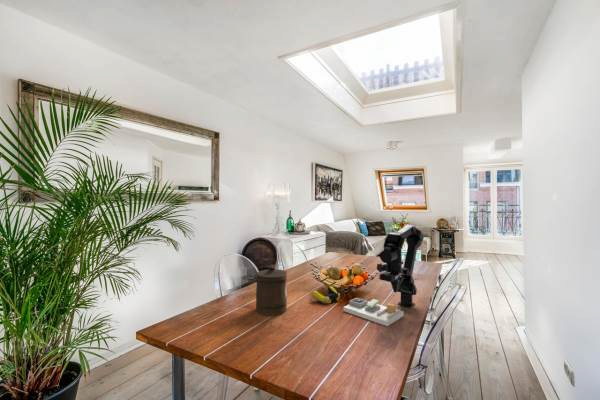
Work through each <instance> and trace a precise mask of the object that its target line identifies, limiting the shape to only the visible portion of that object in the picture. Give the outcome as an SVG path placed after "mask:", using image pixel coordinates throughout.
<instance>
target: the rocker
mask: <svg viewBox="0 0 600 400" xmlns="http://www.w3.org/2000/svg"><path fill="white" fill-rule="evenodd" d="M379 303H380V300H378V299H375V298H372V299H371V300H370V301H369V303H368V304H367V307H370V308H373V307H374V306H375V305H377V304H379Z"/></svg>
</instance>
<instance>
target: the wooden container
mask: <svg viewBox="0 0 600 400" xmlns="http://www.w3.org/2000/svg"><path fill="white" fill-rule="evenodd" d="M267 266H268V267H267V268H268V269H263V270H260V271H257V273H256V290H255V291H256V292H255V293H256V295H255V298H256V300H255V311H256V313H258V314H259V315H261V316H269V317H272V316H279V315H281V314H284V313H285V312H286V311H287V307H288V306H287V301H288V300H287V299H288V295H287V291H288V290H287V280H288V279H287V278H288V277H287V275H288V274H287V273H288V272H287V271H286V270H282V269H278V268H277V269H276V266H275V264H270V265H267Z"/></svg>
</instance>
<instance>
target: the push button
mask: <svg viewBox="0 0 600 400" xmlns="http://www.w3.org/2000/svg"><path fill="white" fill-rule="evenodd" d="M362 299H363V298H360V299H355V300H354V302H357V303H362V302H363V300H364V299H363V300H362Z"/></svg>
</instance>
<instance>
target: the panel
mask: <svg viewBox="0 0 600 400" xmlns="http://www.w3.org/2000/svg"><path fill="white" fill-rule="evenodd" d="M355 299H362V300H363V302H362V303H357V302H354V300H355ZM369 302H370V301H369V300H367V299H363V298H360V297H355V298H353V299H350V300H349V302H348V304H347V305H344V306H343V312H345V313H349V314H350V315H354V316H357V317H360V318H362V319H366V320H368V321H370V322H371V321H372V322H373V323H377V324H380V325H382V326H384V327H385V326H386V327H389V326H390V325H392V324H393V323H395V322H397V321H399V319H401V318H402V317H404V311H401V309H396V311H395V312H393V313H391V312H388V311H387V306H385V305H381V304H379V303H378V304H377V305H375V306H374V307H373V308H370V307H367V304H368V303H369Z"/></svg>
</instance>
